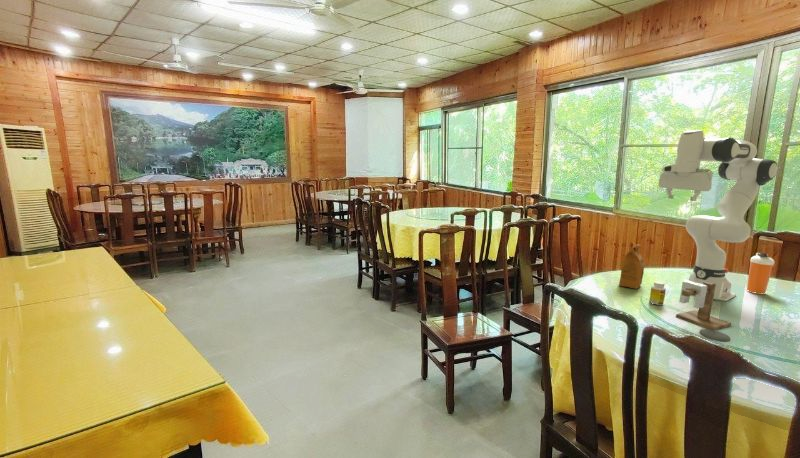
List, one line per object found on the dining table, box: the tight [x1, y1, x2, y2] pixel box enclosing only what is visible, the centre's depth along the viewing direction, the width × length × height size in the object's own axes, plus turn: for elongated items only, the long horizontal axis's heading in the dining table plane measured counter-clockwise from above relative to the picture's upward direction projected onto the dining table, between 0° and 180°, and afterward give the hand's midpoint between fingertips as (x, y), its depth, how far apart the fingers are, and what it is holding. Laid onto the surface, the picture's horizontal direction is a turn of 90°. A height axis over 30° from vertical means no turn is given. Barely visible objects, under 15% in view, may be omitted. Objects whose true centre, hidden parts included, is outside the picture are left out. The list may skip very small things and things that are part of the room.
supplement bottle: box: [648, 280, 667, 306], centre depth 177 cm, size 6×6×10 cm
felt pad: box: [698, 328, 731, 342], centre depth 146 cm, size 9×9×1 cm
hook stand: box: [675, 282, 732, 331], centre depth 156 cm, size 22×14×16 cm, turn 114°
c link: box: [678, 279, 707, 309], centre depth 153 cm, size 4×7×9 cm, turn 24°
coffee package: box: [618, 243, 645, 289], centre depth 201 cm, size 10×12×22 cm
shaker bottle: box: [746, 252, 775, 294], centre depth 197 cm, size 9×9×20 cm
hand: (681, 199), depth 172 cm, fingers open, 8 cm apart
